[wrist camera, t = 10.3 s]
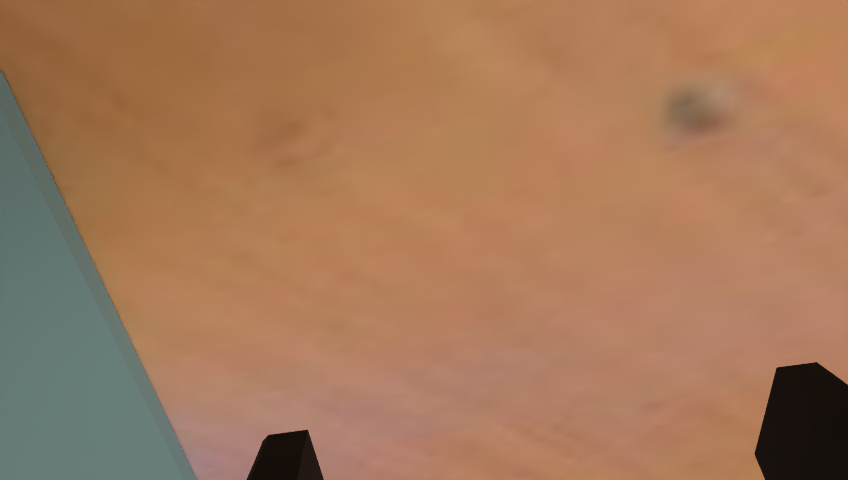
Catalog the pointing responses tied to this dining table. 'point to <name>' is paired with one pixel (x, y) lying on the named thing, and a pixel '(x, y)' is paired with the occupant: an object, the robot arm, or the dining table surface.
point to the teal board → (65, 342)
